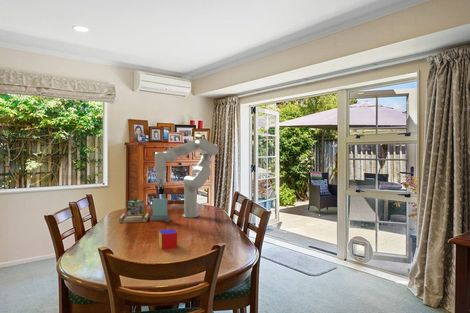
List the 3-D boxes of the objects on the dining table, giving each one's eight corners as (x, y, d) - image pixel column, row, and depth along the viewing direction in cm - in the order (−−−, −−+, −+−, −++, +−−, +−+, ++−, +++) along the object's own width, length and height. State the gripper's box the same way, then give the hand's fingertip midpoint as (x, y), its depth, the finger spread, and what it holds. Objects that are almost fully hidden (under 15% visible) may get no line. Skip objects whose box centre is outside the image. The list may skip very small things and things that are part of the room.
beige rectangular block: (125, 220, 220) (125, 216, 220) (142, 220, 222) (142, 215, 222) (123, 222, 214) (123, 217, 214) (142, 221, 217) (142, 217, 217)
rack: (123, 219, 229) (123, 213, 229) (148, 218, 232) (148, 212, 232) (119, 224, 213) (119, 218, 213) (146, 223, 217) (146, 217, 217)
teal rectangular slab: (152, 219, 224) (152, 198, 224) (167, 219, 226) (167, 198, 226) (152, 220, 222) (152, 199, 222) (167, 219, 224) (167, 198, 224)
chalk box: (143, 215, 244) (144, 196, 243) (134, 217, 236) (134, 197, 236) (135, 214, 249) (136, 195, 248) (126, 216, 241) (126, 196, 241)
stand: (150, 220, 227) (150, 214, 227) (170, 219, 229) (170, 214, 229) (149, 222, 219) (149, 217, 219) (170, 222, 222) (170, 216, 222)
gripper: (156, 168, 231) (156, 191, 232) (154, 170, 214) (155, 195, 215) (166, 168, 233) (167, 191, 234) (165, 170, 216) (166, 194, 217)
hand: (161, 193), depth 225 cm, fingers open, 9 cm apart
